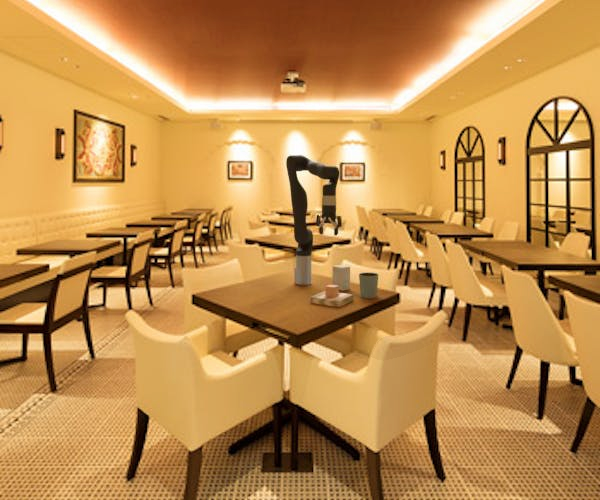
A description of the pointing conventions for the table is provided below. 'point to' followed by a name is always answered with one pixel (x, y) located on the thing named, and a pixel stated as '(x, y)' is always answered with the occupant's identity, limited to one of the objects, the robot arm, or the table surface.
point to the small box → (341, 277)
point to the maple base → (332, 299)
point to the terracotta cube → (331, 290)
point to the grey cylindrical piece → (368, 285)
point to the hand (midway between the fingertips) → (328, 234)
